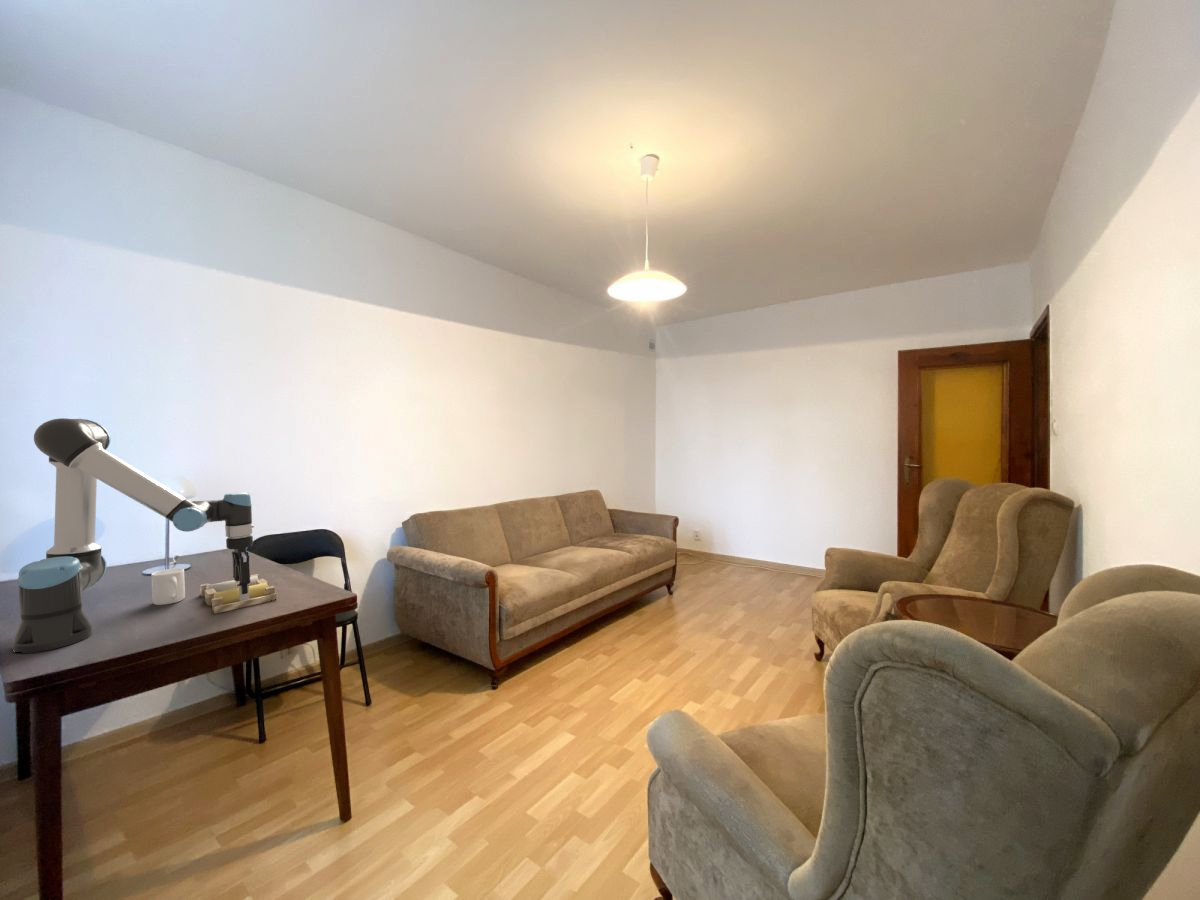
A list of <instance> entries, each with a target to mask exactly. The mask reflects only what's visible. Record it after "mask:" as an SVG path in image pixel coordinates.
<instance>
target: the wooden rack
mask: <svg viewBox="0 0 1200 900" xmlns="http://www.w3.org/2000/svg"><path fill="white" fill-rule="evenodd" d="M253 576H258V579H259V580H255V581H256V585H257V584H262V583H267V584H268V585H269V581H268V580H266V579H264V578H260V575H259V574H257V573H256V574H251V575H250V577H253ZM199 585H200V588H199V593H200V597H202V598H204V601H205V603H206V605H207V606H208V607H210V606H211V609H212V610H211V611H212V613H214V614H215V615H216V614H218V613H219V614H220V613H223V612H228V611H232V610H236V609H242V608H246V607H250V606H254V605H260V604H262V603H263V604H264V603H267V602H268V603H269V602H271V600H272V601H276V600H275V599H277V597H278V596H277V593H276V587H275V586H274V585H271V586H268V587H266V588H265V596H262V597H257V598H253V599H248V600H243V601H239V602H234V603H230V604H225V605H223V598H222V597H218V598H214V593H217V592H216V591H215V589H214V588H213V589H208V590H206V586H207V585H211V584H210V583H204V584H199Z"/></svg>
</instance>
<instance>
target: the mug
mask: <svg viewBox="0 0 1200 900" xmlns="http://www.w3.org/2000/svg"><path fill="white" fill-rule="evenodd" d="M150 575H151V576H150V577H151V592H152V595H151V596H152V604H153V605H156V606H164V605H171V604H175V603H179V602H180V601H183V600H184V599H185V597H186V586H185V585H186V583H185V569H184V568H182V567H181V568H180V567H179V568H177V567H175V568H174V567H173V568H166V569H162V570H157V571H154V572H152V573H151V574H150Z"/></svg>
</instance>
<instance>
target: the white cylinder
mask: <svg viewBox="0 0 1200 900" xmlns="http://www.w3.org/2000/svg"><path fill="white" fill-rule="evenodd" d="M259 579H260V578H259ZM259 579H258V576H253V577H250V583H249V586H253V585H256V581H255V580H259ZM235 582H236V581H235V580H234V579H232V580H229V581H228V580H227V581H222V582H218V583H212V584H210V585H207V586H206V590H208V589H213V588H214V589H215V591H216V592H217V593H218V592H223V591H228V590H233V589H235Z"/></svg>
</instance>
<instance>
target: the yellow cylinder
mask: <svg viewBox="0 0 1200 900" xmlns="http://www.w3.org/2000/svg"><path fill="white" fill-rule="evenodd" d="M266 587H269V583H268V584H267V583H262V584H257V585H253V586H249V599H253V598H257V597H262V596H265V588H266ZM218 597H222V598H223V605H225V604H230V603H234V602H239V601H240V600H239V588H238V589H233V590H228V591H223V592H218V593H214V598H218Z"/></svg>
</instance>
